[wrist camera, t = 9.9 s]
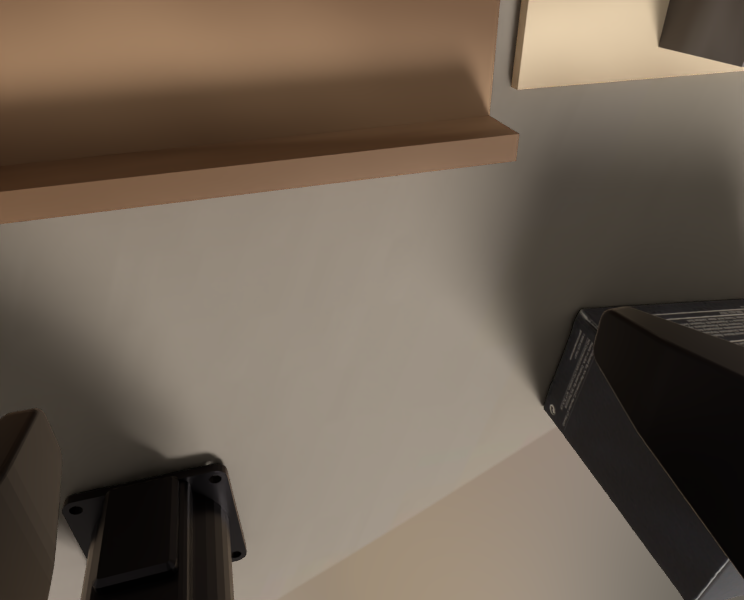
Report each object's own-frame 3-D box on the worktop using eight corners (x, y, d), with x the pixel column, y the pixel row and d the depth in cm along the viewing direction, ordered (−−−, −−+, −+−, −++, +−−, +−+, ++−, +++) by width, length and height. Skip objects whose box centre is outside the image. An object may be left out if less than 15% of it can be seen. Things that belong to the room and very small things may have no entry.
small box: (535, 414, 28) (683, 621, 20) (574, 304, 25) (774, 499, 16) (702, 394, 31) (894, 567, 23) (757, 294, 28) (1008, 454, 19)
